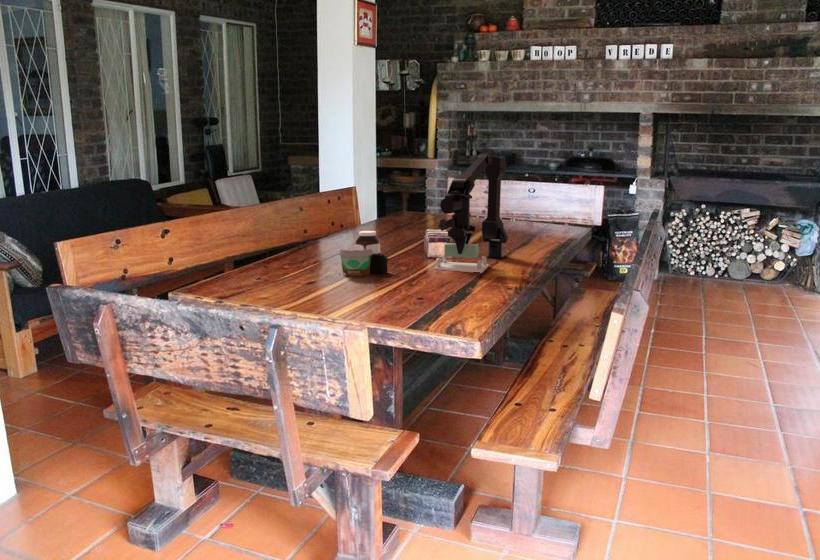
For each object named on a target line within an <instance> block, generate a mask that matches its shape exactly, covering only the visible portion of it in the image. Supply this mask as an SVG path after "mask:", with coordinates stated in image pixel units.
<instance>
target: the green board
mask: <svg viewBox="0 0 820 560" xmlns="http://www.w3.org/2000/svg"><path fill="white" fill-rule="evenodd" d="M479 246H480V244H479V243H468V244H465V245H464V248H463V251H462V254H458V250H457V246H456V243H455V242H454V243H453V242H447V243H446V244H444V255H445V257H447V258H462V259H463V258H465V259H467V258H469V259H476V258H478V257H479V256H480V255H479V254H480V247H479Z"/></svg>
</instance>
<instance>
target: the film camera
mask: <svg viewBox="0 0 820 560" xmlns="http://www.w3.org/2000/svg"><path fill="white" fill-rule="evenodd" d="M388 262H389V258H387V257H386V256H385V254H384V253H383V254H381V252H380V253H379V254H377V253H373V255H371V262H370V273H369V275H383V274H385V275H387V274H388Z"/></svg>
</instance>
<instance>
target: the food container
mask: <svg viewBox="0 0 820 560" xmlns="http://www.w3.org/2000/svg"><path fill="white" fill-rule="evenodd" d="M371 255H373V251H372V249H369V250H363V251H361V250H352V251H350V250H344V249H341V248H339V251H338V256H340V260H341V268H342V269H341V270H342V275H343V276H344V277H347V278H352V279H358V278H359V279H360V278H361V279H362V278H367V277H369V276H370V274H369V273H370V262H371Z"/></svg>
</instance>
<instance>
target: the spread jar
mask: <svg viewBox="0 0 820 560" xmlns="http://www.w3.org/2000/svg"><path fill="white" fill-rule="evenodd" d="M354 243H355V244H354V245H353V246H352V247H351V248H350V250H349V251H352V250H361V251H363V250H369V249H372V251H373V253H377V254H379V253H380V254H381V242H380V239H379V238H378V237H377V231H375V230H359V231H358V237H357V238H356V240H355V242H354Z"/></svg>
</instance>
